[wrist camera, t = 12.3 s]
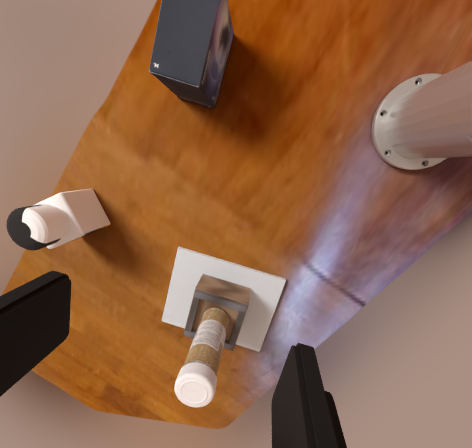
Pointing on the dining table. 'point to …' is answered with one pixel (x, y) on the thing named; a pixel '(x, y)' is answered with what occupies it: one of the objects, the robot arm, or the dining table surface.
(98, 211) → the medicine bottle
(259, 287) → the white rectangular board
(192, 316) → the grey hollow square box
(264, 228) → the dining table surface
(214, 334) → the sprinkles bottle
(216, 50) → the small box
